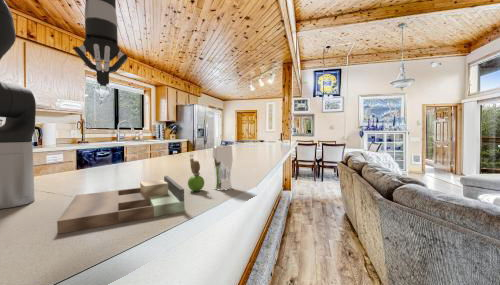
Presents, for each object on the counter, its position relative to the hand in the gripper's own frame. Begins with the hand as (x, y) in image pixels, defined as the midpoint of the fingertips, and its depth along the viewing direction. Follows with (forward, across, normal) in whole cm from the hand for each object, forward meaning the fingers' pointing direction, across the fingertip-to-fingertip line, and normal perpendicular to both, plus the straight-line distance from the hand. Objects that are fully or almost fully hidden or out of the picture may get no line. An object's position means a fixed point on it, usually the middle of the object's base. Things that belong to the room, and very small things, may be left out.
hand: (103, 85), depth 62 cm
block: (+30, +12, -8) cm, 34 cm away
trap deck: (+33, +5, -9) cm, 35 cm away
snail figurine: (+33, +26, -1) cm, 42 cm away
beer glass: (+33, +35, -4) cm, 48 cm away
